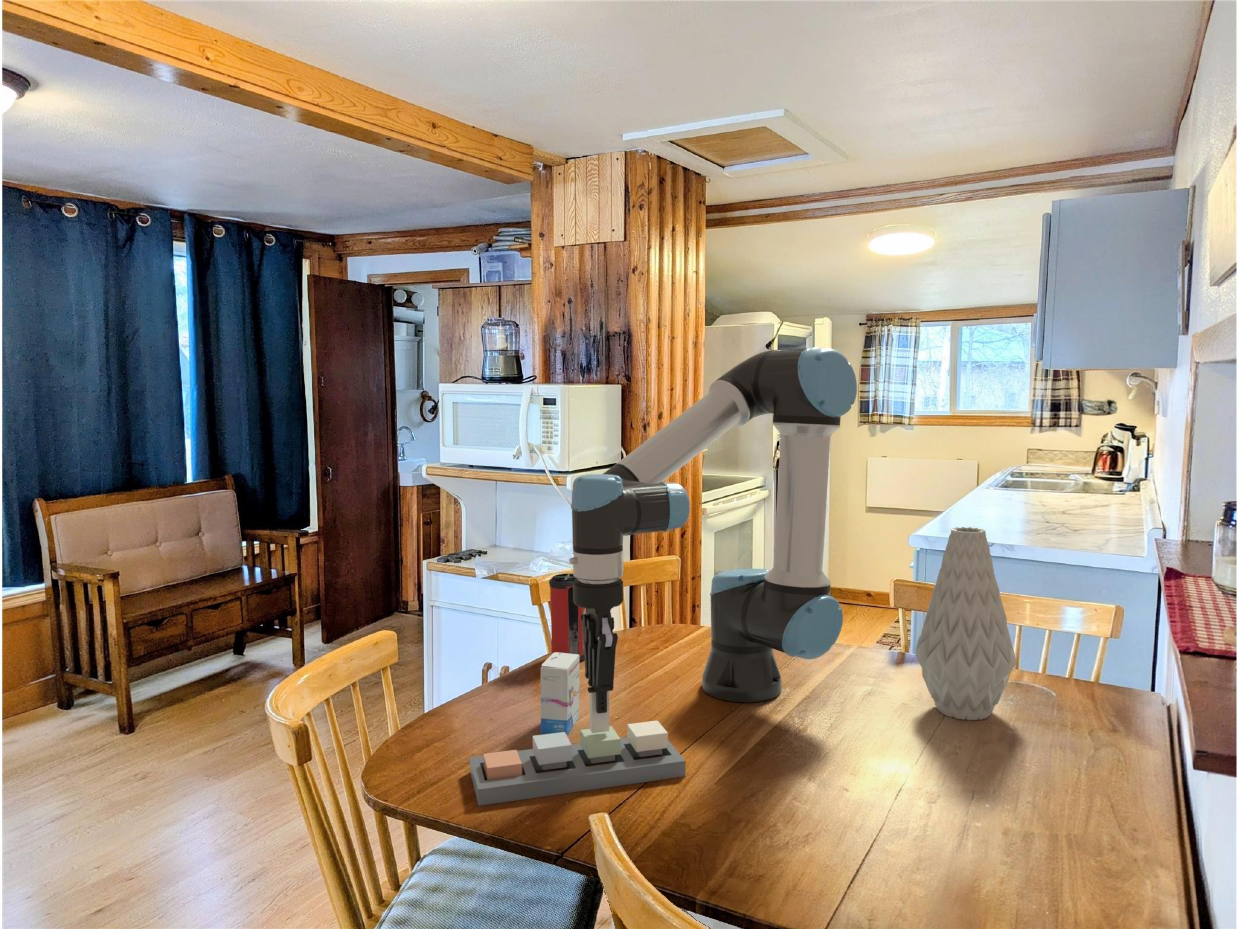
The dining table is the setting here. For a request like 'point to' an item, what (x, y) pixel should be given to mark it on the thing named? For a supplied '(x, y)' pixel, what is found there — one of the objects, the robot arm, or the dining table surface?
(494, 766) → the key terracotta
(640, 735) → the key cream
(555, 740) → the key bluegrey
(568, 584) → the speaker
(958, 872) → the dining table surface
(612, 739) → the key sage
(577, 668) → the ink box
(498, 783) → the keypad base
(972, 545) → the vase
